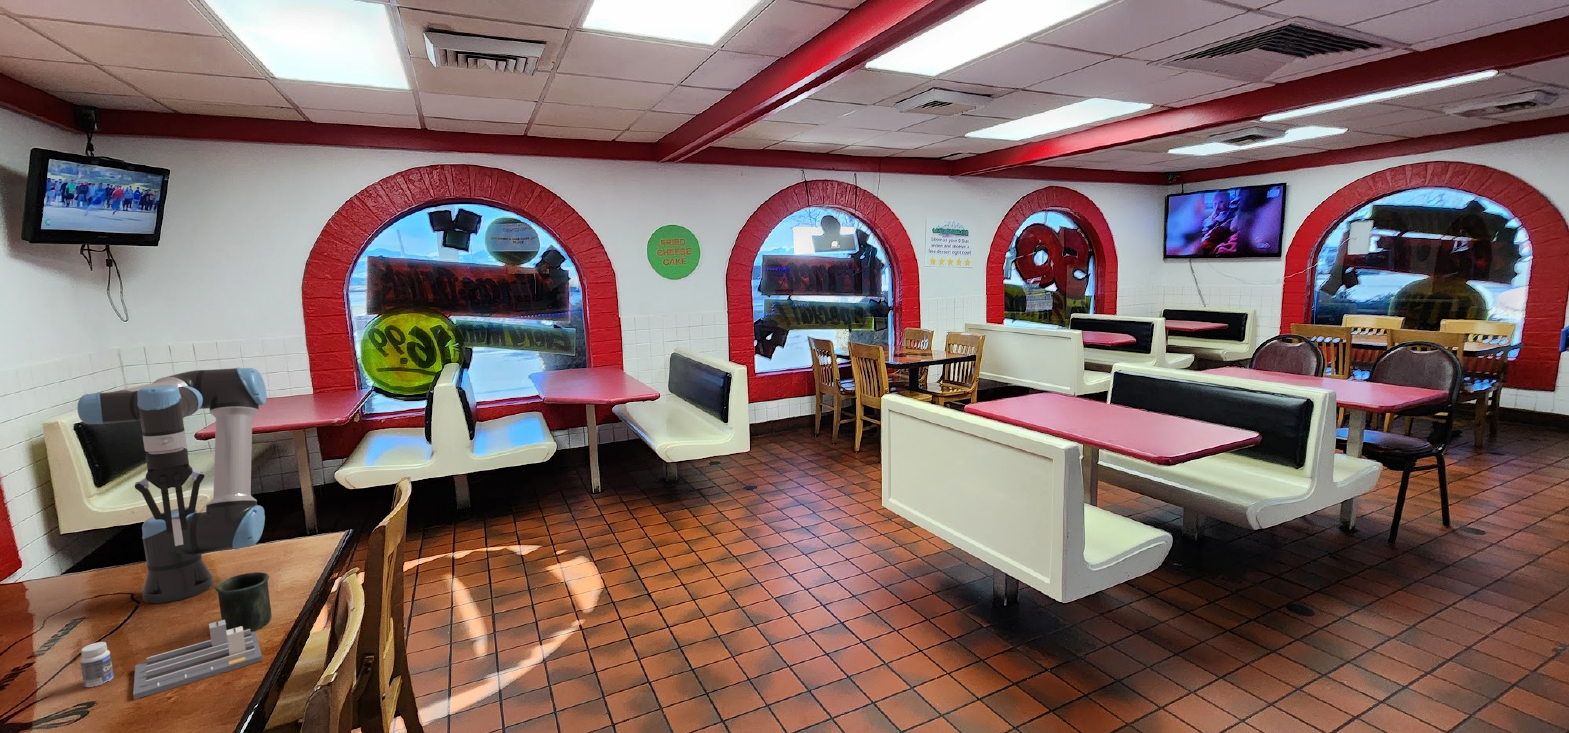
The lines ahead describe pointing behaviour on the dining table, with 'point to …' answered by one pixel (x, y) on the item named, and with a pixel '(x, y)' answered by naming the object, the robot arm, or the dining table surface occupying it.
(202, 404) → the robot arm
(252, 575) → the mug
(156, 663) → the console
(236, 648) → the fader cap
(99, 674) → the pill bottle
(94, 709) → the dining table surface
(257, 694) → the dining table surface
